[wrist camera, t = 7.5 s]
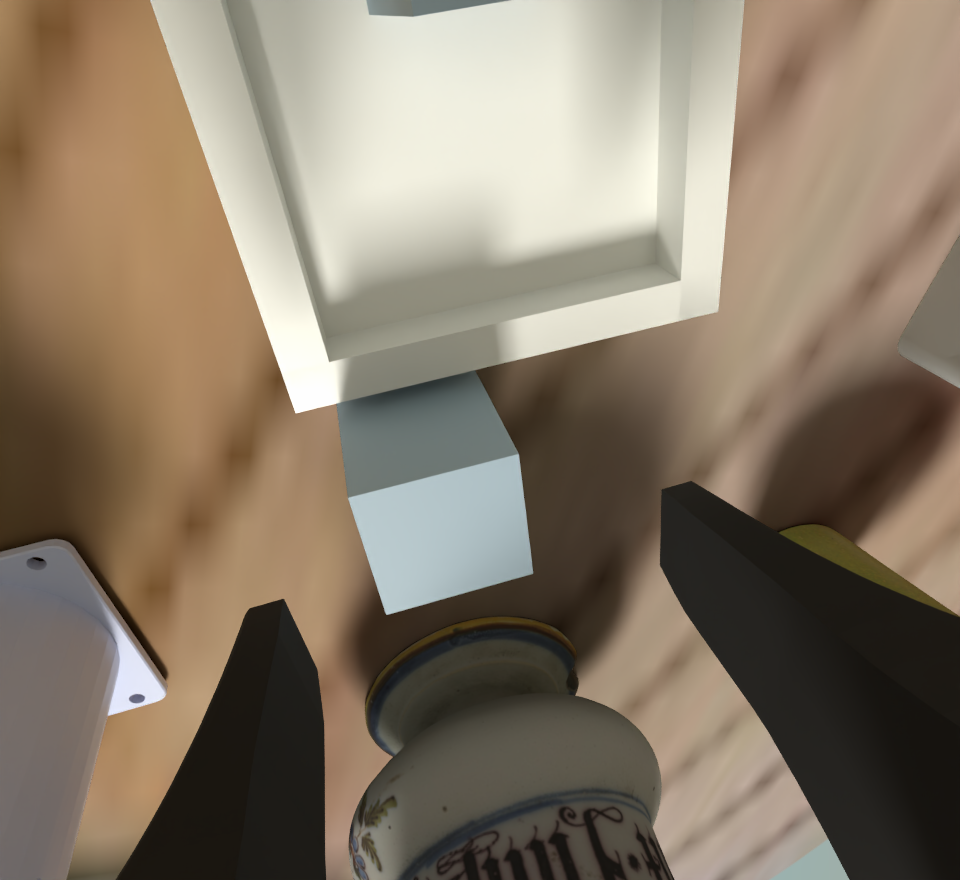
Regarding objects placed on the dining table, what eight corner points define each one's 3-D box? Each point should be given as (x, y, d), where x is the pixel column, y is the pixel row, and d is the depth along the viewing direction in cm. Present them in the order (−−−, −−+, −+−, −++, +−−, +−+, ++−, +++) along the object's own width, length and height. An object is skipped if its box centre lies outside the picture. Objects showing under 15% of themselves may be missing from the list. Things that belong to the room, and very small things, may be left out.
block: (364, 479, 22) (386, 615, 17) (332, 376, 19) (348, 498, 15) (479, 450, 22) (533, 573, 17) (462, 345, 20) (518, 453, 15)
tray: (294, 370, 19) (295, 413, 17) (17, -450, 10) (-49, -563, 8) (675, 281, 20) (718, 311, 18) (708, -499, 12) (795, -603, 10)
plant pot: (720, 499, 26) (877, 675, 19) (907, 482, 29) (1107, 634, 22) (666, 653, 31) (775, 838, 24) (828, 628, 34) (971, 790, 27)
